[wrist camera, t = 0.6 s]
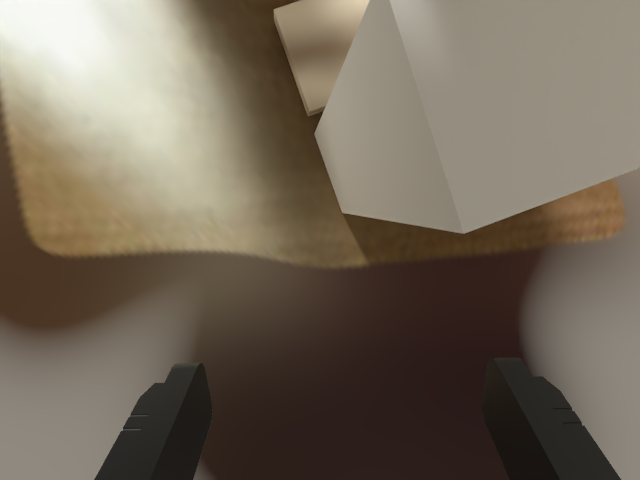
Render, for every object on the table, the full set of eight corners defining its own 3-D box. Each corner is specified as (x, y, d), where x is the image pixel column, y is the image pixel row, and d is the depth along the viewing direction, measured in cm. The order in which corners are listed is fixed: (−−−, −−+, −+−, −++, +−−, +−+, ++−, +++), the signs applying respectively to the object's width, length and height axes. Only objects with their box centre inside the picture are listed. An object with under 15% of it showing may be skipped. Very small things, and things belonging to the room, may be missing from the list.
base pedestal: (314, 134, 34) (381, -27, 10) (468, 79, 35) (866, -191, 11) (342, 212, 35) (464, 233, 11) (492, 157, 36) (912, 65, 12)
